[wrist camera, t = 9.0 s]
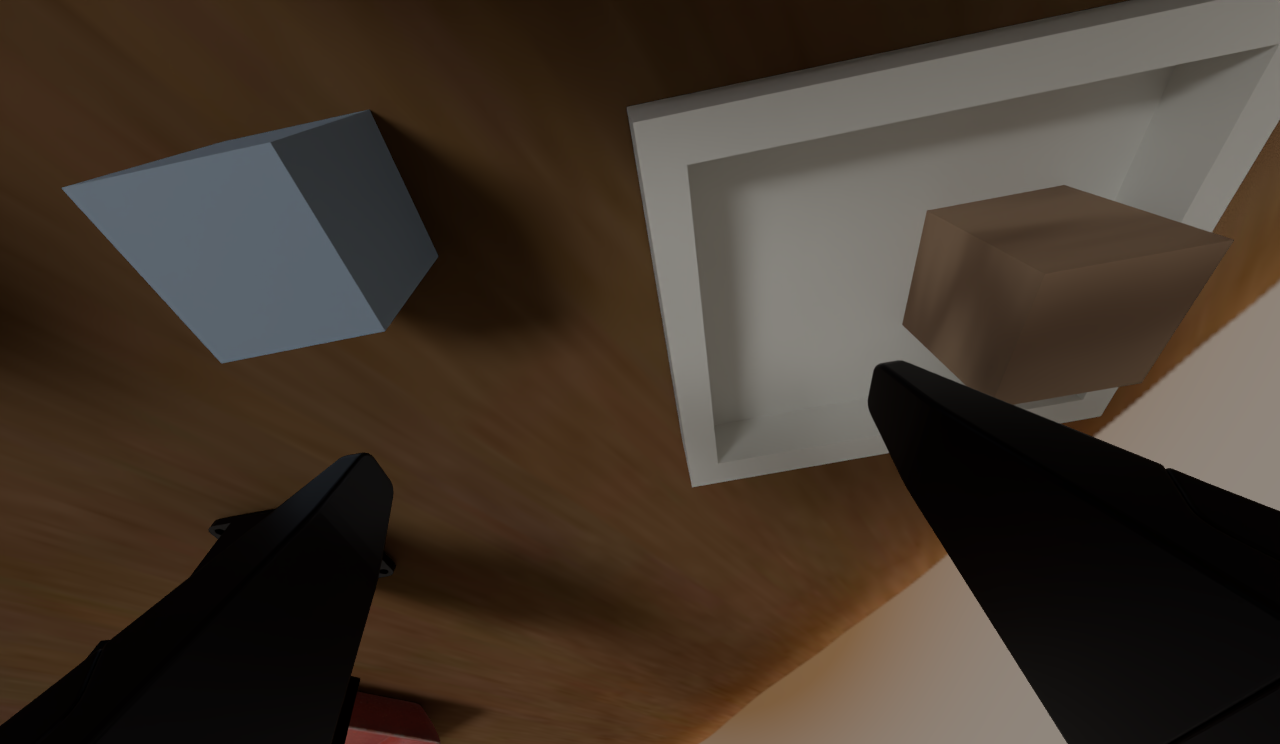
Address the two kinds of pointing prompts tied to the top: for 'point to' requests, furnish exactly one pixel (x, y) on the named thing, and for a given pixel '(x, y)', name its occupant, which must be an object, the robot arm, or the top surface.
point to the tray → (914, 199)
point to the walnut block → (1053, 291)
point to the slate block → (270, 235)
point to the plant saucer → (389, 722)
